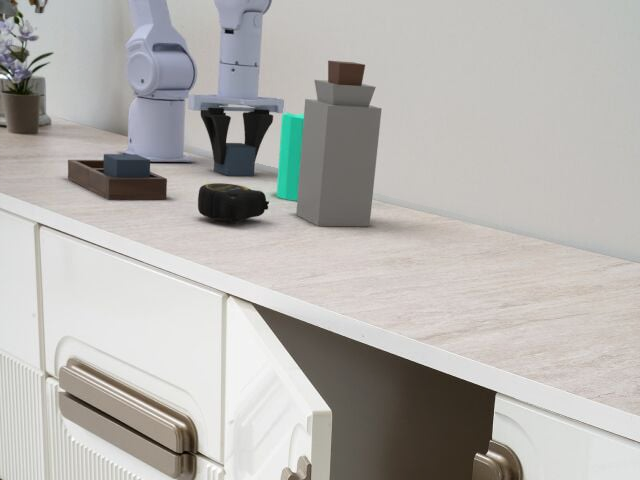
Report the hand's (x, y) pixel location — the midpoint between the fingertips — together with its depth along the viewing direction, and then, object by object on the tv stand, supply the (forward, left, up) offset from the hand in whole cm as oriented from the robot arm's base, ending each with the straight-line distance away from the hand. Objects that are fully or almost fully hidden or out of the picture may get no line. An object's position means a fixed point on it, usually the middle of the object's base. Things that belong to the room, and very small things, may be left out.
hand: (234, 163), depth 164 cm
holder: (+12, -23, -1) cm, 26 cm away
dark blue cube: (+15, -23, -1) cm, 28 cm away
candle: (+19, 0, -2) cm, 19 cm away
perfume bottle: (+34, -4, -2) cm, 34 cm away
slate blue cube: (0, 0, -1) cm, 1 cm away
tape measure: (+33, -17, -2) cm, 37 cm away
